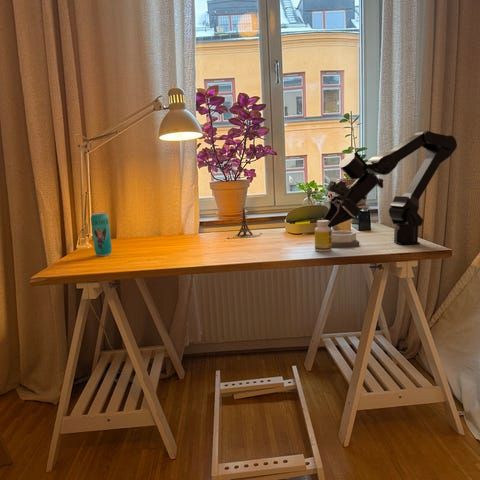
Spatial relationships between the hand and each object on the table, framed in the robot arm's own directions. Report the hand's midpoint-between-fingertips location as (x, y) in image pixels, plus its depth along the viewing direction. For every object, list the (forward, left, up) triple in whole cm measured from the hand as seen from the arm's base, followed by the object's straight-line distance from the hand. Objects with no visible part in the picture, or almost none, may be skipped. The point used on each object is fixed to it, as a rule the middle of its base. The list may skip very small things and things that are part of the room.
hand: (325, 224), depth 128 cm
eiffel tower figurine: (+27, -36, -9) cm, 45 cm away
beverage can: (+77, -9, -9) cm, 78 cm away
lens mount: (-7, -9, -8) cm, 14 cm away
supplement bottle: (+1, 0, -9) cm, 9 cm away
